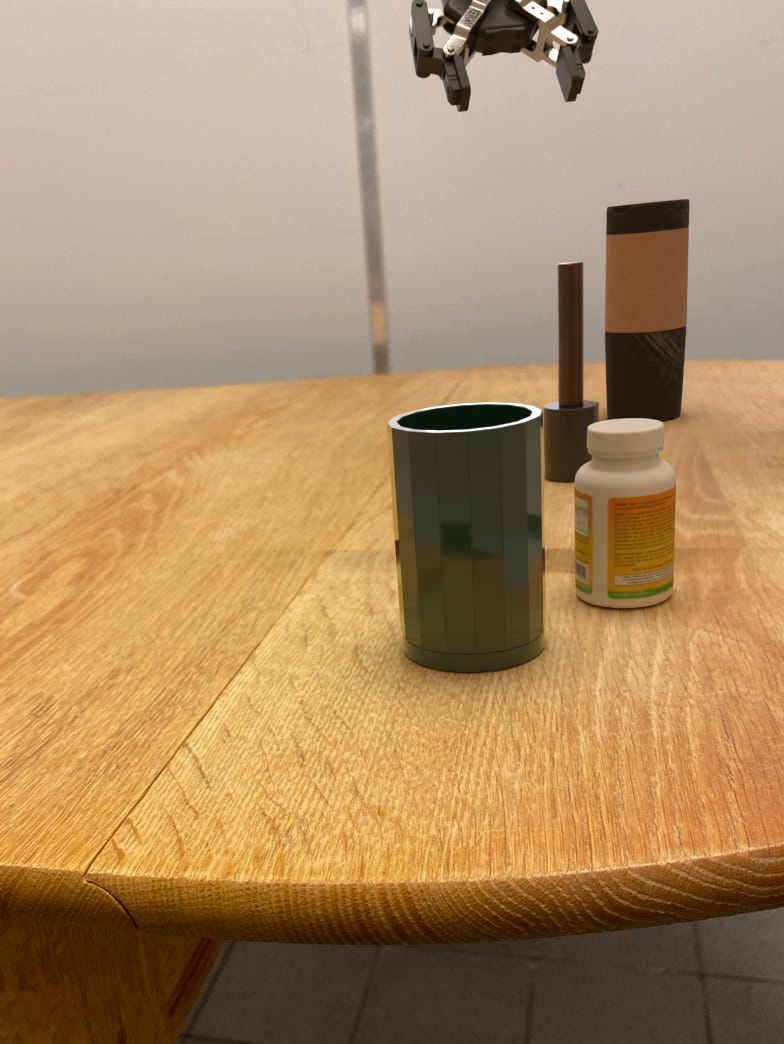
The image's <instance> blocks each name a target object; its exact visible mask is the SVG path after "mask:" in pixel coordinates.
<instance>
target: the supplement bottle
mask: <svg viewBox="0 0 784 1044" xmlns="http://www.w3.org/2000/svg"><path fill="white" fill-rule="evenodd" d="M664 444H665V424H664V422H663V421H658V420H653V419H643V418H626V419H612V420H609V419H607V420H601V421H600V420H599V422H596V423H593V424H591V425H589V426H588V429H587V448H588V453H589V454H591V455H592V460H591V461H590V462H588V463H586V464H584V465H583V466H582V467H581V468H580V469H579V470H578V471H577V473H576V476H575V483H574V487H573V493H574V494H573V495H574V496H573V497H574V501H573V502H574V507H573V508H574V586H575V587H574V588H575V593H576V594H577V596H578V598H579V599H580V600H582V601H584V602H585V603H587V604H590V605H593V606H597V607H603V608H611V609H635V608H636V609H637V608H644V607H651V606H655V605H657V604H660V603H662V602H664V601H665V600H667V599H668V598H669V597H670V596H671V595H672V593H673V591H674V580H675V538H676V537H675V536H676V535H675V534H676V533H675V532H676V503H677V502H676V499H677V475H676V474H677V473H676V470H675V469H674V467H673V466H672V464H671V463H669V462H668V461H666V460H664V459H662V458H660V453H661V452H662V451H664Z"/></svg>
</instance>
